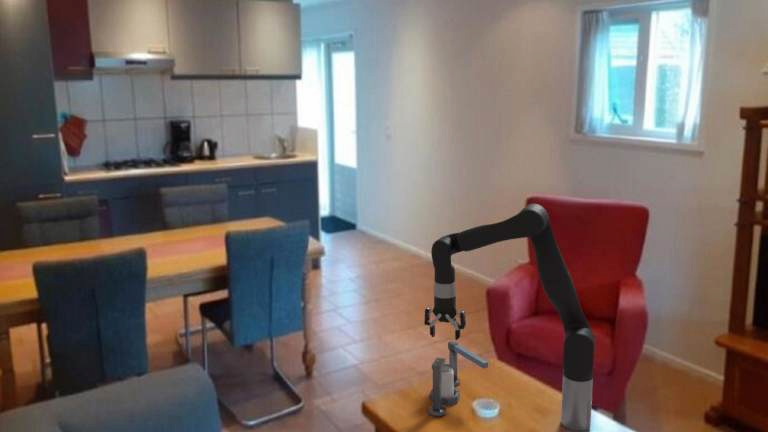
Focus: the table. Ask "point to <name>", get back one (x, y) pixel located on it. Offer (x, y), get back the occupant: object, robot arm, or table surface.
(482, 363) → the swing arm
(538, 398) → the table surface
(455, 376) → the pivot post
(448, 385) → the can
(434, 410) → the dark grey piece
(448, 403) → the collar
